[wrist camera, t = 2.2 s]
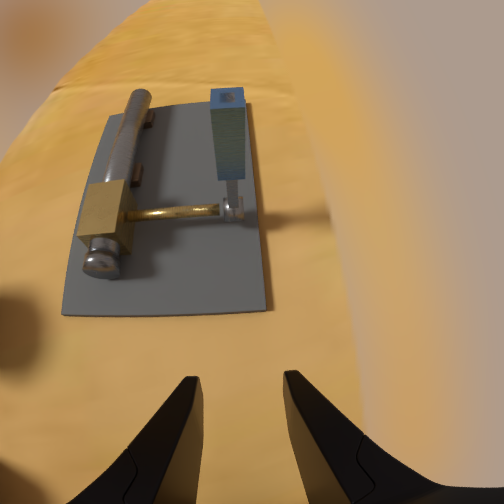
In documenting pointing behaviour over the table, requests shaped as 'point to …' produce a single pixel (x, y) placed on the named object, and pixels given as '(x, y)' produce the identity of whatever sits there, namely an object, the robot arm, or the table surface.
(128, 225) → the valve pipe
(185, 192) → the gray mounting plate
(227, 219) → the valve lever
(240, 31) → the table surface
